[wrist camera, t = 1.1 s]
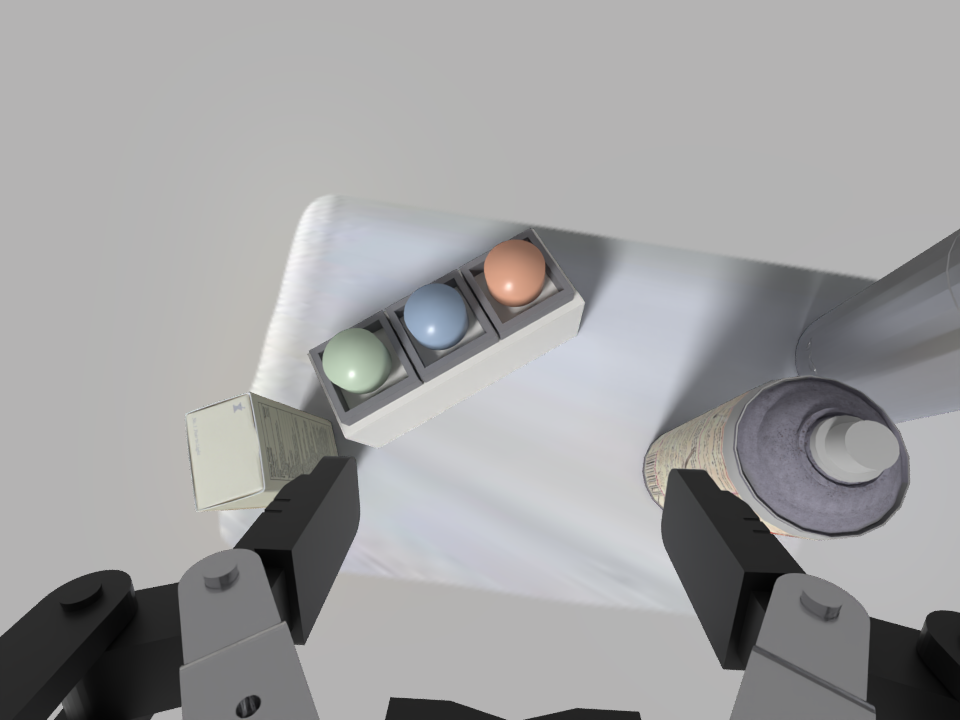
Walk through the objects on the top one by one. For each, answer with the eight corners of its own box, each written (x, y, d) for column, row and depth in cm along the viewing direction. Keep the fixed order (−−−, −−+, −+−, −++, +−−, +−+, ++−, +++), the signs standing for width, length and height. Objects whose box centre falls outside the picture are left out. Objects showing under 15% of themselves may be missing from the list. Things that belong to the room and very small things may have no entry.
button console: (533, 272, 41) (533, 217, 33) (576, 336, 39) (587, 294, 31) (345, 377, 40) (298, 347, 32) (378, 448, 38) (336, 435, 30)
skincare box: (284, 435, 40) (180, 409, 28) (333, 419, 40) (250, 387, 28) (296, 510, 38) (190, 514, 26) (348, 493, 38) (265, 491, 26)
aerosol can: (682, 540, 34) (871, 595, 15) (623, 460, 36) (723, 417, 17) (758, 488, 34) (1036, 475, 15) (695, 411, 36) (872, 315, 17)
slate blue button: (452, 286, 33) (446, 273, 31) (479, 331, 31) (475, 321, 30) (402, 313, 32) (393, 302, 31) (427, 360, 31) (420, 351, 29)
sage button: (377, 327, 32) (367, 317, 30) (401, 375, 31) (392, 367, 29) (326, 356, 32) (313, 347, 30) (349, 405, 31) (336, 399, 29)
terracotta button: (526, 244, 33) (525, 229, 31) (555, 288, 32) (557, 275, 30) (476, 272, 33) (473, 258, 31) (505, 317, 32) (503, 305, 30)
